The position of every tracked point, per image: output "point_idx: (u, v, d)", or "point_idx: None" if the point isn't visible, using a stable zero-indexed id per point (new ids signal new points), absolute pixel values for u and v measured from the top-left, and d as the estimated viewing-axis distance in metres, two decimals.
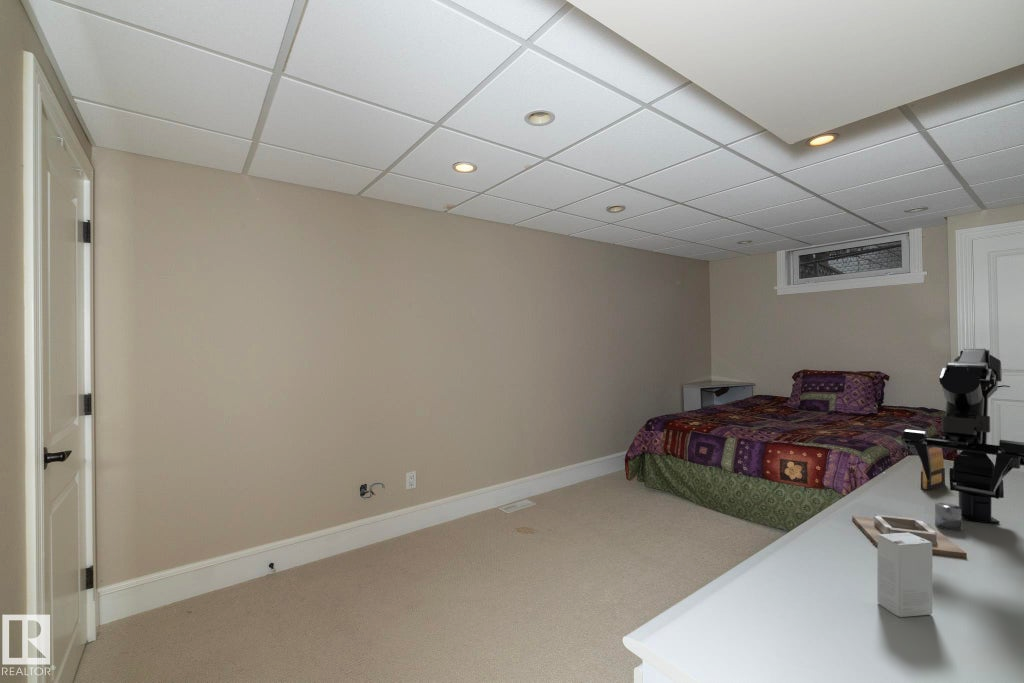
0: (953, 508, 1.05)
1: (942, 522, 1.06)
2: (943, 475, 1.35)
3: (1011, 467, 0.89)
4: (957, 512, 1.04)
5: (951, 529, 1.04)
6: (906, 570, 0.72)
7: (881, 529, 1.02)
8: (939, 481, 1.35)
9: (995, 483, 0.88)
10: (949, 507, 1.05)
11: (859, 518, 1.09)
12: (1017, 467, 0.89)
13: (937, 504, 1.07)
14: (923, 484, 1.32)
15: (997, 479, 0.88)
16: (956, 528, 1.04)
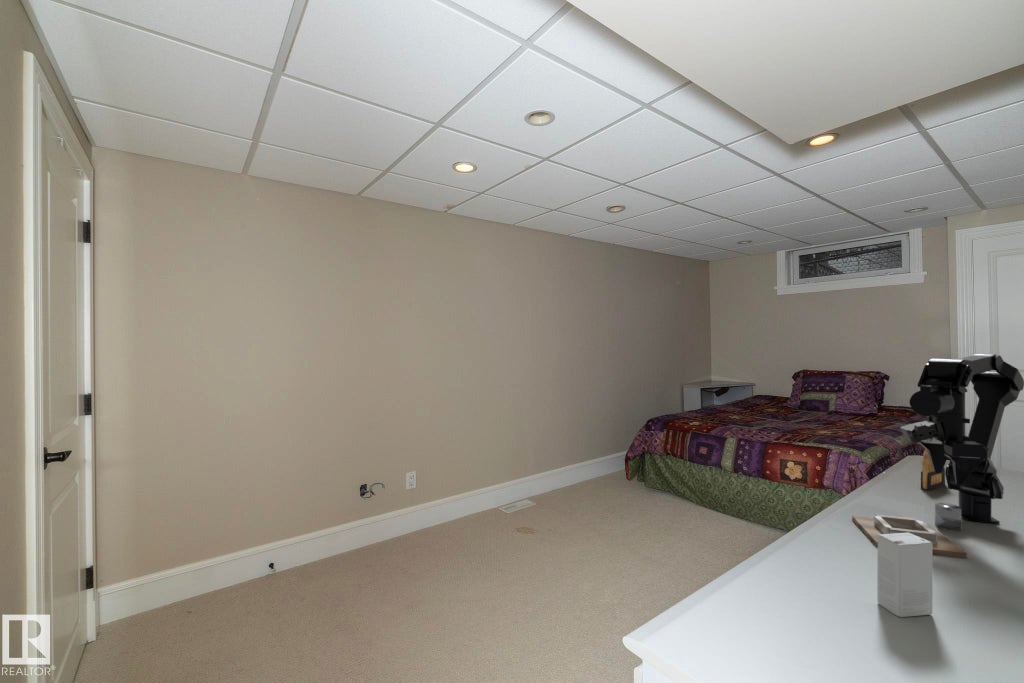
0: (953, 508, 1.05)
1: (942, 522, 1.06)
2: (943, 475, 1.35)
3: None
4: (957, 512, 1.04)
5: (951, 529, 1.04)
6: (906, 570, 0.72)
7: (881, 529, 1.02)
8: (939, 481, 1.35)
9: (956, 478, 1.02)
10: (949, 507, 1.05)
11: (859, 518, 1.09)
12: None
13: (937, 504, 1.07)
14: (923, 484, 1.32)
15: (955, 475, 1.02)
16: (956, 528, 1.04)
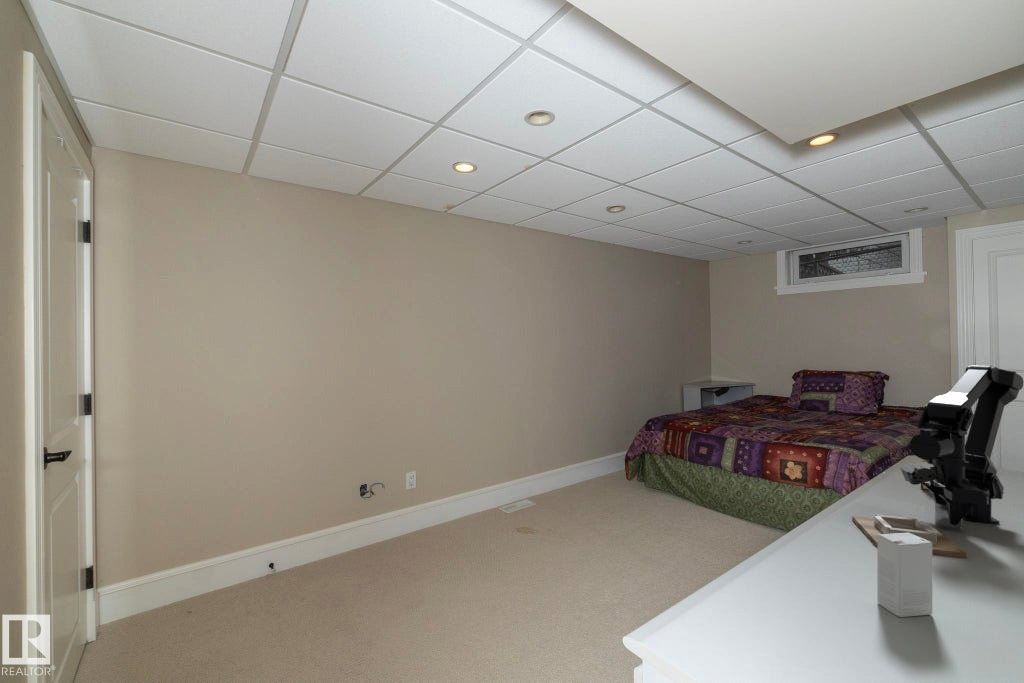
0: None
1: (942, 522, 1.06)
2: None
3: None
4: None
5: (951, 529, 1.04)
6: (906, 570, 0.72)
7: (881, 529, 1.02)
8: None
9: (950, 518, 1.04)
10: None
11: (859, 518, 1.09)
12: None
13: (937, 504, 1.07)
14: None
15: (950, 515, 1.04)
16: (956, 528, 1.04)
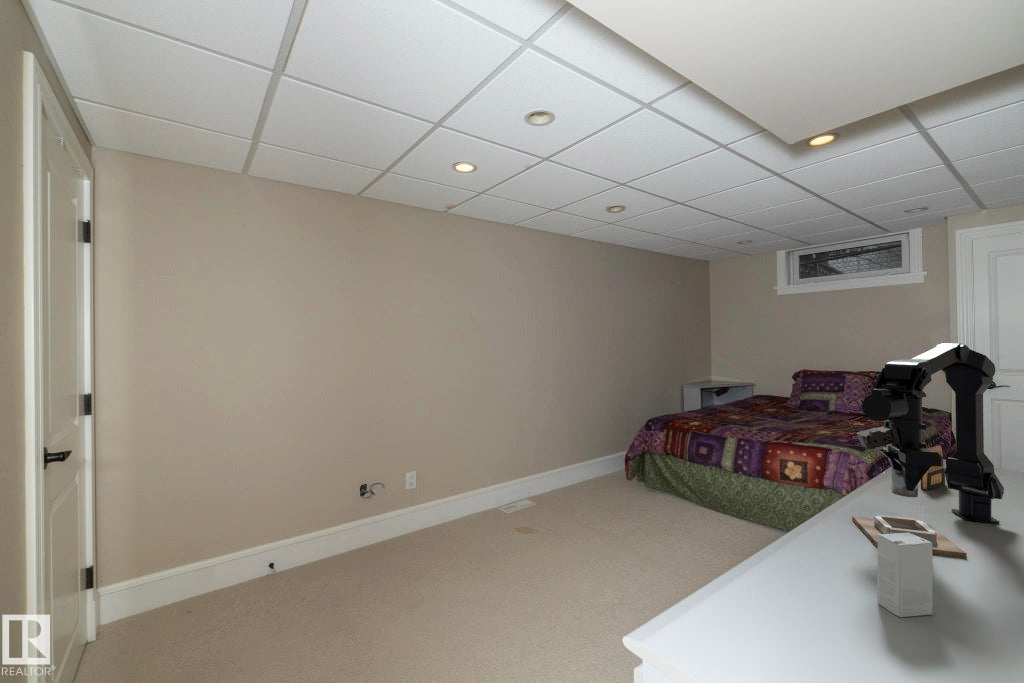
0: None
1: (898, 488, 1.01)
2: (943, 475, 1.35)
3: (928, 465, 0.96)
4: None
5: (907, 495, 0.99)
6: (906, 570, 0.72)
7: (881, 529, 1.02)
8: (939, 481, 1.35)
9: (906, 484, 0.99)
10: None
11: (859, 518, 1.09)
12: (929, 465, 0.95)
13: (894, 470, 1.02)
14: (923, 484, 1.32)
15: (905, 480, 0.99)
16: (912, 494, 0.99)
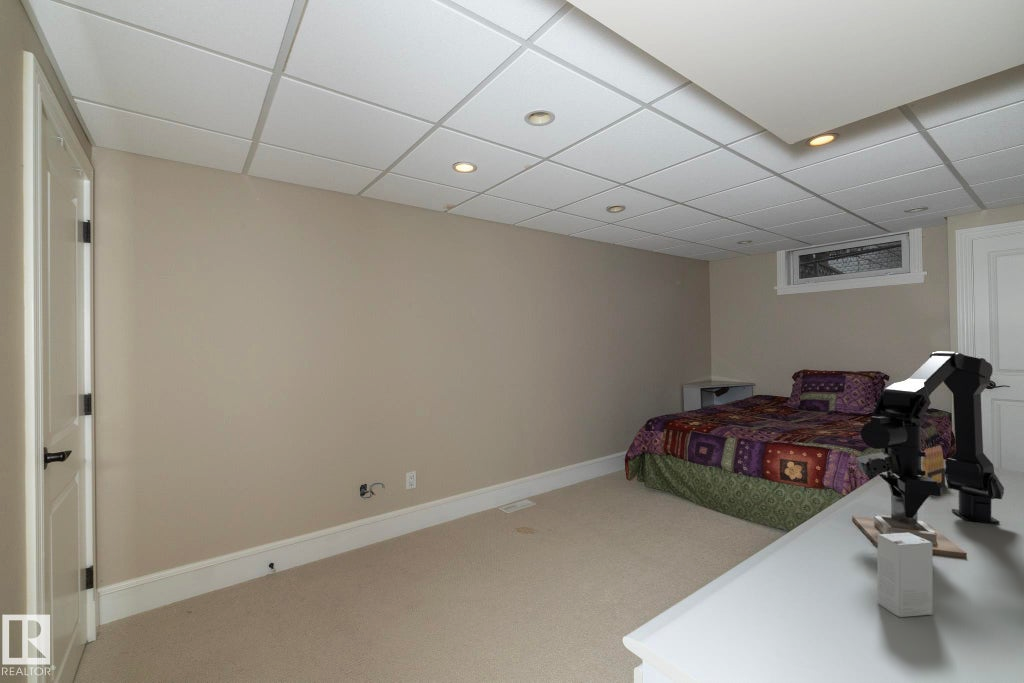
0: None
1: (897, 514, 1.01)
2: (943, 475, 1.35)
3: None
4: None
5: (907, 522, 0.99)
6: (906, 570, 0.73)
7: (881, 529, 1.02)
8: (939, 481, 1.35)
9: (905, 511, 0.99)
10: None
11: (859, 518, 1.09)
12: None
13: (893, 496, 1.02)
14: None
15: (905, 507, 0.99)
16: (912, 521, 0.99)
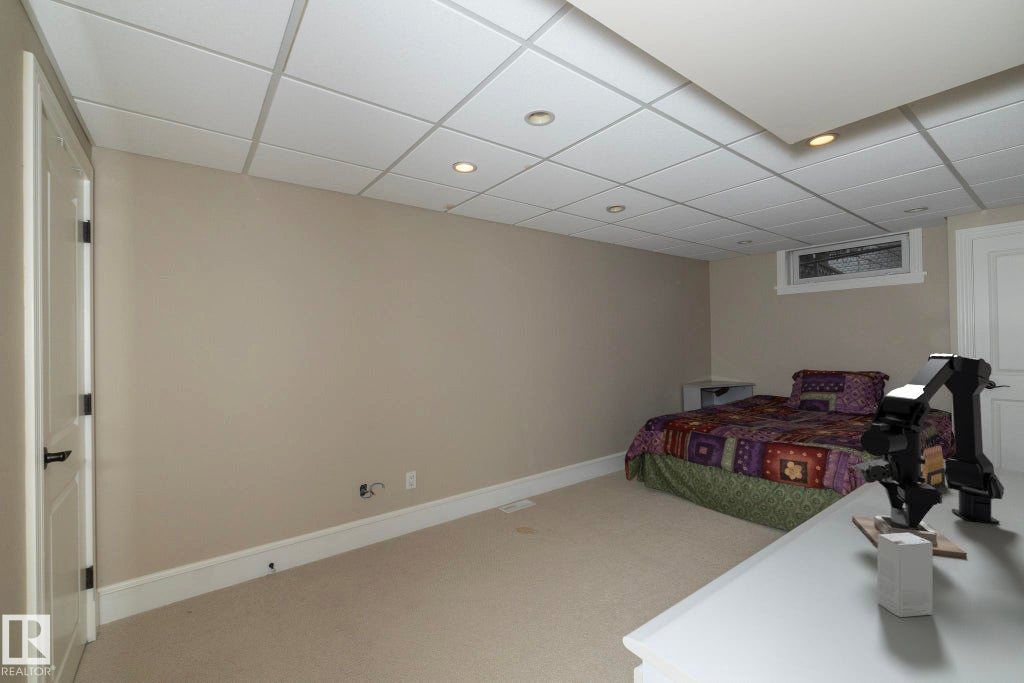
0: None
1: (897, 527, 1.01)
2: (943, 475, 1.35)
3: None
4: None
5: None
6: (906, 570, 0.72)
7: (881, 529, 1.02)
8: (939, 481, 1.35)
9: (909, 521, 0.97)
10: (904, 512, 1.00)
11: (859, 518, 1.09)
12: None
13: (893, 508, 1.02)
14: None
15: (908, 517, 0.97)
16: None
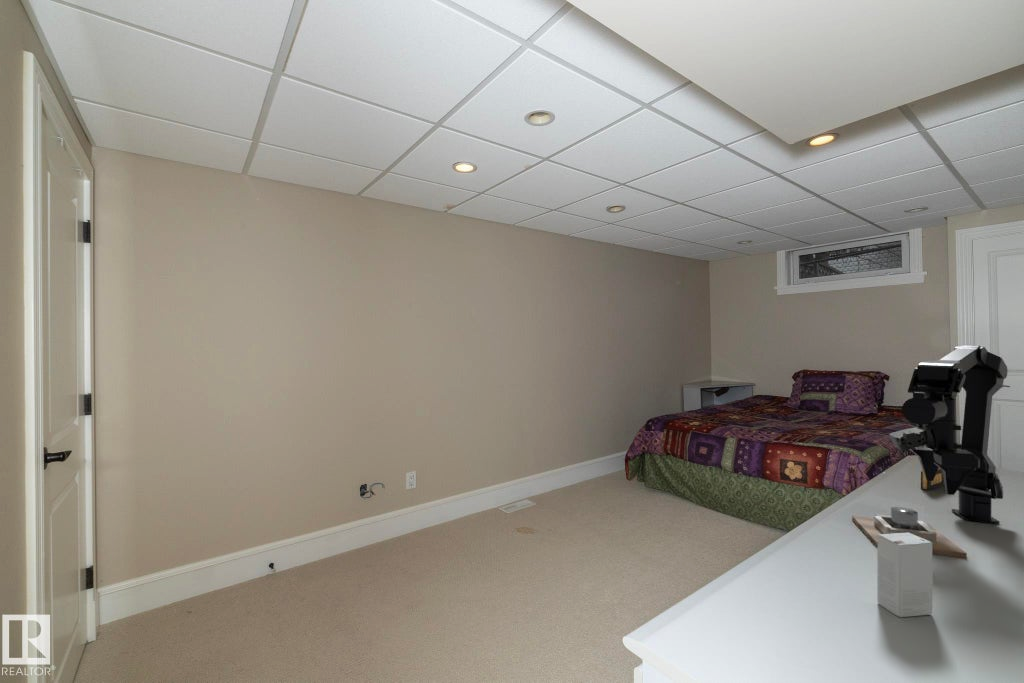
0: (909, 513, 1.00)
1: (897, 527, 1.01)
2: None
3: None
4: (912, 517, 0.99)
5: None
6: (906, 570, 0.73)
7: (881, 529, 1.02)
8: (939, 481, 1.35)
9: (946, 488, 0.97)
10: (904, 512, 1.00)
11: (859, 518, 1.09)
12: None
13: (893, 508, 1.02)
14: (923, 484, 1.32)
15: (946, 484, 0.97)
16: None
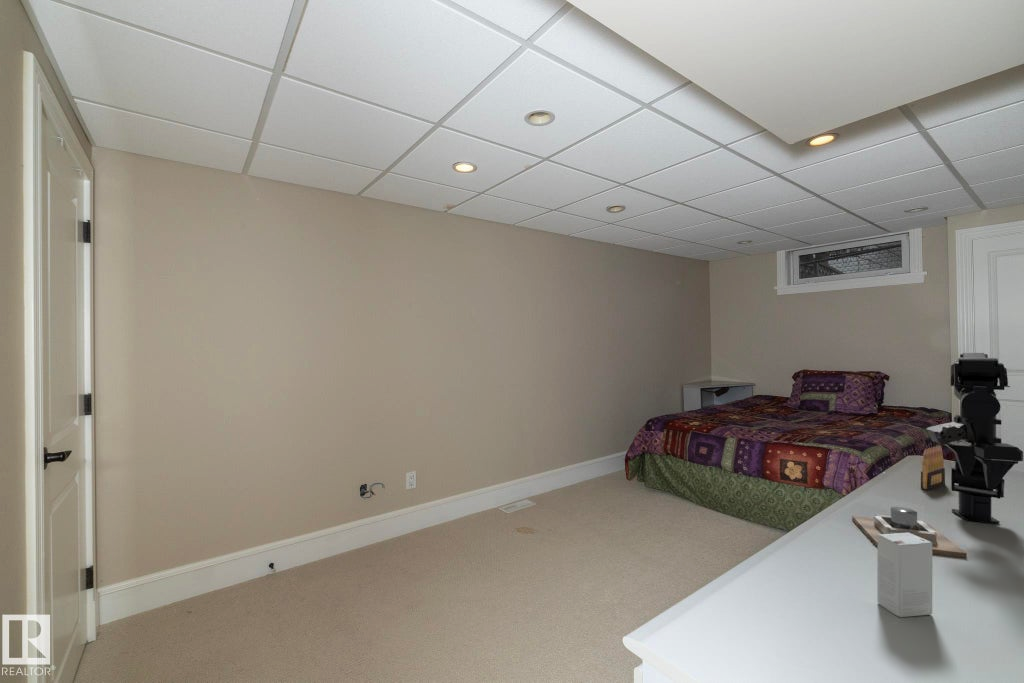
0: (908, 513, 1.00)
1: (897, 527, 1.01)
2: (943, 475, 1.35)
3: None
4: (912, 517, 0.99)
5: None
6: (906, 570, 0.72)
7: (881, 529, 1.02)
8: (939, 481, 1.35)
9: (987, 482, 0.98)
10: (904, 512, 1.00)
11: (859, 518, 1.09)
12: None
13: (893, 508, 1.02)
14: (923, 484, 1.32)
15: (987, 478, 0.97)
16: None
